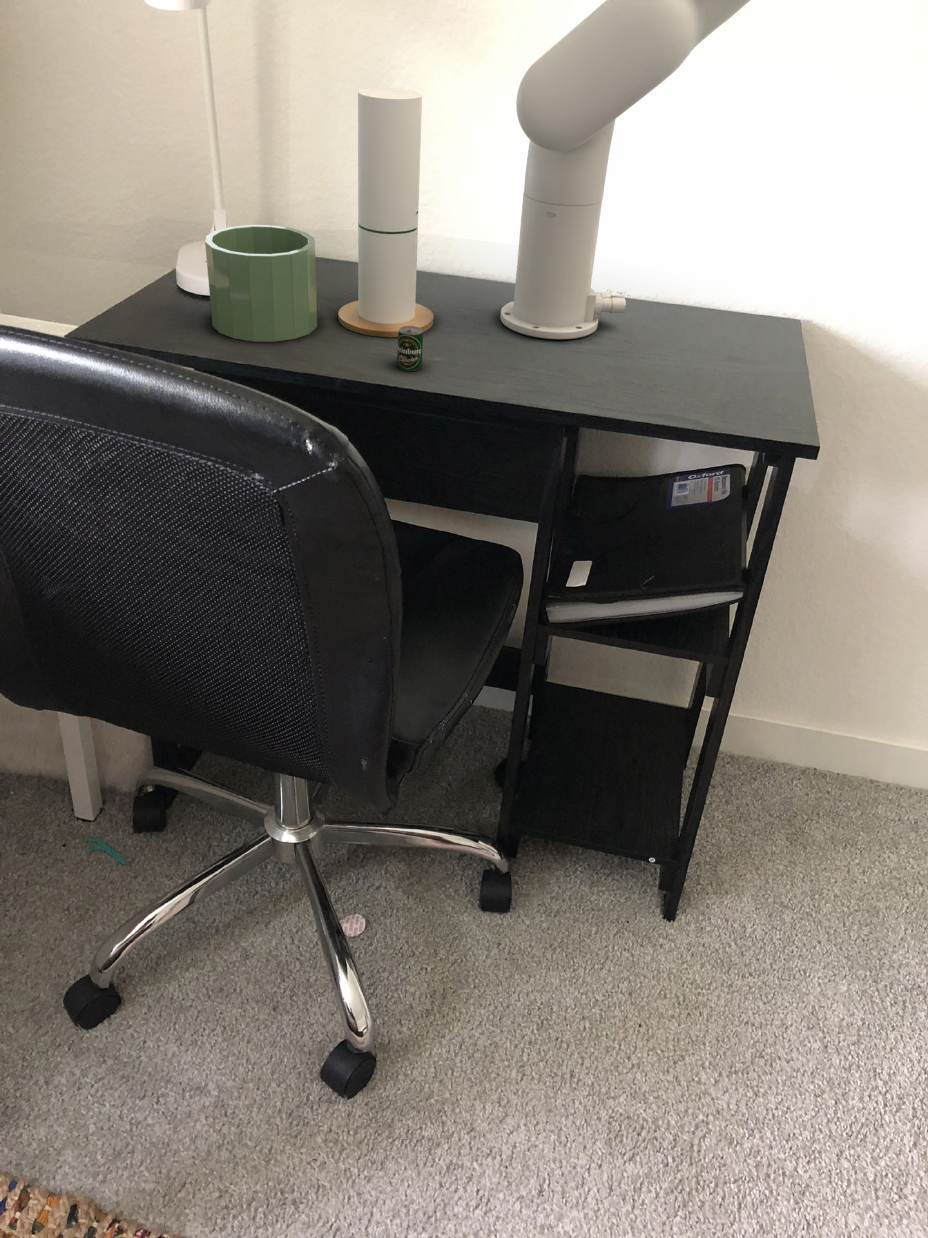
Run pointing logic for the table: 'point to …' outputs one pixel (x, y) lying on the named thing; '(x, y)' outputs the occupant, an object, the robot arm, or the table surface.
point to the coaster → (357, 324)
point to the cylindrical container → (388, 203)
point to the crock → (262, 282)
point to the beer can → (410, 348)
